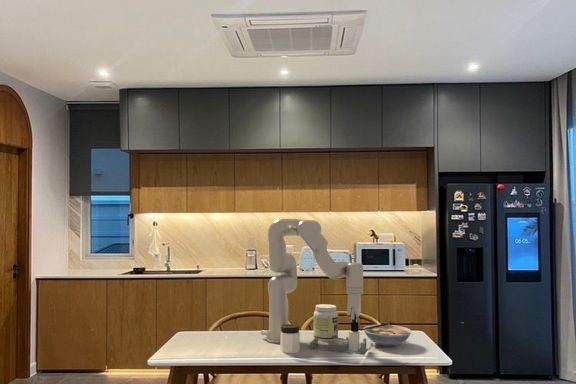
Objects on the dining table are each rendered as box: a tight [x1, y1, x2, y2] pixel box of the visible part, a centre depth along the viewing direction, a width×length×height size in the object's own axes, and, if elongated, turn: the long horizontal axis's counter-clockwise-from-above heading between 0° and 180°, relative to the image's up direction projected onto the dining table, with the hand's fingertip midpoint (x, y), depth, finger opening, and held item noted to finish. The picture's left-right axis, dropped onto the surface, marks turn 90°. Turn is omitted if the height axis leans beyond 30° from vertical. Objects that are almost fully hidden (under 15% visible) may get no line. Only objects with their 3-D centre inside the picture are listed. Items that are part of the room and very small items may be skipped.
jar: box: [279, 323, 301, 354], centre depth 225 cm, size 9×8×12 cm
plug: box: [348, 330, 360, 351], centre depth 226 cm, size 4×4×8 cm
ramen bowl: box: [360, 321, 412, 348], centre depth 240 cm, size 25×23×8 cm
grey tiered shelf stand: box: [309, 336, 367, 355], centre depth 228 cm, size 24×10×6 cm, turn 73°
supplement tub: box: [313, 303, 339, 342], centre depth 248 cm, size 12×12×17 cm
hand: (354, 331), depth 227 cm, fingers closed
